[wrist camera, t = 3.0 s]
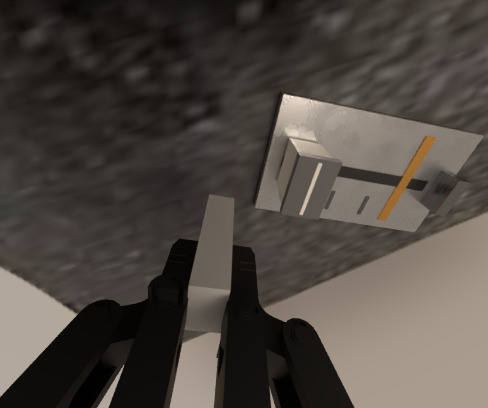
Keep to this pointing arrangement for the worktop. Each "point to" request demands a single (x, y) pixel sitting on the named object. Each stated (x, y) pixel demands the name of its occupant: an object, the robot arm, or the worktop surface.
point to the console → (372, 162)
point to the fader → (306, 179)
